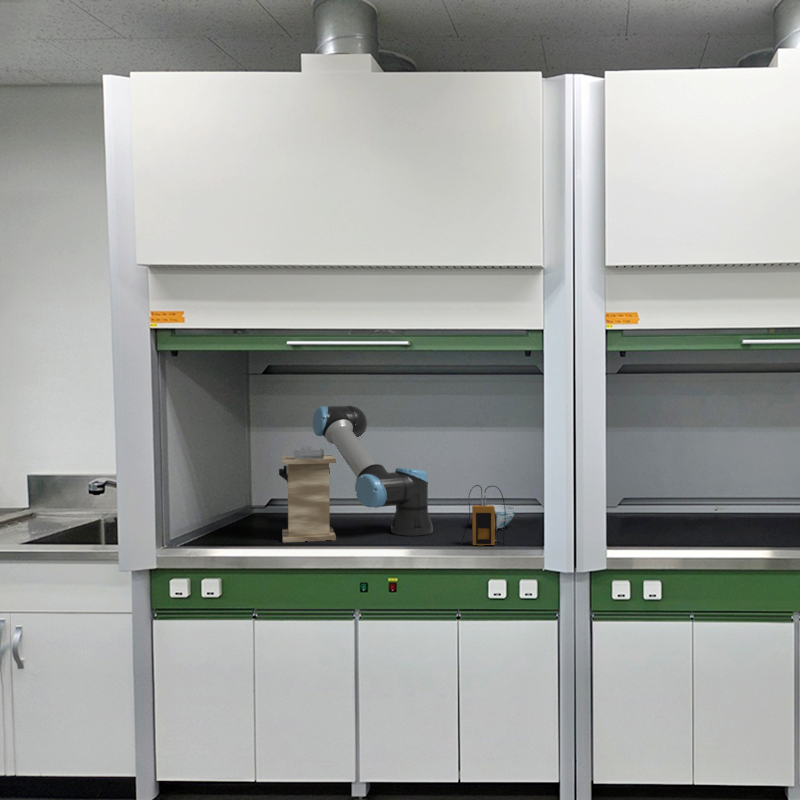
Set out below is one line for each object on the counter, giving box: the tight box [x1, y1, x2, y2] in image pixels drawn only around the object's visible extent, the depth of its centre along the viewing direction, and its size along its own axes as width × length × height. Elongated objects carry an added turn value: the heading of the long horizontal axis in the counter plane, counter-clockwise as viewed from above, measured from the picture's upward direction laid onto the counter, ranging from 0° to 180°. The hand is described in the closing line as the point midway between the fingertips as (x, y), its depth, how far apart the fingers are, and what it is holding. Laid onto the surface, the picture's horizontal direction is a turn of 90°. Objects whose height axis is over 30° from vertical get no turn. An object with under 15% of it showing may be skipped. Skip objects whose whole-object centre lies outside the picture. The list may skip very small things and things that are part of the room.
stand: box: [281, 454, 337, 543], centre depth 236 cm, size 16×18×28 cm
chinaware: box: [492, 504, 516, 529], centre depth 250 cm, size 15×15×8 cm
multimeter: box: [460, 484, 506, 546], centre depth 225 cm, size 15×10×20 cm
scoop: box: [293, 446, 325, 459], centre depth 242 cm, size 27×10×3 cm, turn 10°
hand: (305, 463), depth 260 cm, fingers open, 13 cm apart
